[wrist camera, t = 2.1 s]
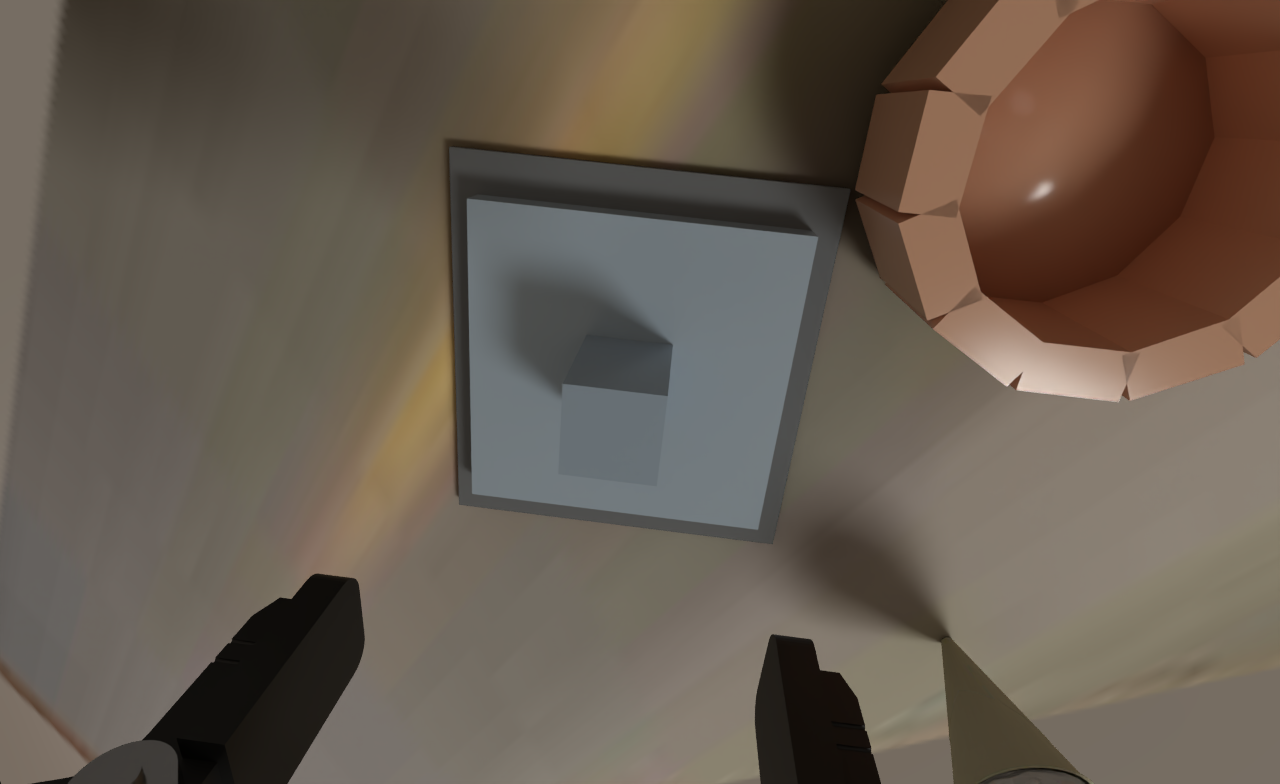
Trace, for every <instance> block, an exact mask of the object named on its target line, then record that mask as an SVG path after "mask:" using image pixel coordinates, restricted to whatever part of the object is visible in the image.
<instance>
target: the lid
mask: <svg viewBox="0 0 1280 784" xmlns="http://www.w3.org/2000/svg"><path fill="white" fill-rule="evenodd" d="M467 241H468V297H469V352H470V408H471V464H472V494H477V495H485V496H493V497H501V498H509V499H517V500H525V501H533V502H541V503H549V504H557V505H565V506H573V507H581V508H589V509H597V510H604V511H612V512H620V513H628V514H636V515H644V516H652V517H660V518H668V519H676V520H684V521H692V522H700V523H708V524H716V525H724V526H732V527H740V528H748V529H756V530H758V527H759V522H760V517H761V513H762V508H763V503H764V498H765V493H766V488H767V484H768V479H769V474H770V469H771V464H772V459H773V454H774V450H775V445H776V440H777V435H778V430H779V425H780V420H781V416H782V411H783V406H784V401H785V396H786V391H787V387H788V382H789V377H790V372H791V367H792V362H793V357H794V353H795V348H796V343H797V338H798V333H799V328H800V324H801V319H802V314H803V309H804V304H805V299H806V294H807V290H808V285H809V280H810V275H811V270H812V265H813V260H814V256H815V251H816V246H817V241H818V236H817V235H816V234H815V233H814V232H813V231H811V230H802V229H793V228H783V227H774V226H765V225H756V224H747V223H737V222H728V221H719V220H710V219H701V218H691V217H682V216H673V215H664V214H654V213H645V212H636V211H627V210H618V209H608V208H599V207H590V206H581V205H572V204H562V203H553V202H544V201H535V200H526V199H516V198H507V197H498V196H489V195H479V194H477V195H475V196H472V197H469V198H467Z"/></svg>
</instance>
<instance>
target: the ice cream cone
mask: <svg viewBox="0 0 1280 784" xmlns="http://www.w3.org/2000/svg"><path fill="white" fill-rule="evenodd" d="M941 645H942V656H943V668H944V680H945V691H946V703H947V714H948V726H949V739H950V745H951V756H952V767H953V779H954V784H1094V783H1093V782H1092V781H1091V780H1090V779H1088V778H1087V777H1085V776H1084V775H1082V774H1080V773H1079V772H1078V771H1077V770H1076V769H1075V768H1074V767H1073V766H1072V765H1071V764H1070V762H1069V761H1068V760H1067V759H1066V758H1065V757H1064V756H1063V755H1062V754H1061V753H1060V752H1059V751H1058V750H1057V749H1056V748H1055V747H1054V746H1053V745H1052V744H1051V743H1050V741H1049V740H1048V739H1047V738H1046V737H1045V736H1044V735H1043V734H1042V733H1041V732H1040V730H1039V729H1037V727H1035V726H1034V724H1033V723H1032V722H1031V721H1030V720H1029V719H1028V718H1027V717H1026V716H1025V715H1024V714H1023V713H1022V712H1021V711H1020V710H1019V709H1018V708H1017V707H1016V706H1015V705H1014V703H1013V702H1012V701H1011V700H1010V699H1009V698H1008V697H1007V696H1006V695H1005V694H1004V693H1003V692H1002V691H1001V690H1000V689H999V688H998V687H997V686H996V685H995V684H994V683H993V682H992V681H991V680H990V678H989V677H988V676H987V675H986V674H985V673H984V672H983V671H982V670H981V669H980V668H979V667H978V666H977V665H976V664H975V663H974V662H973V661H972V660H971V659H970V658H969V657H968V656H967V655H966V653H965V652H964V651H963V650H962V649H961V648H960V647H959V646H958V645H957V644H956V643H955V642H954V641H953V640H952V639H951V638H949V637H946V638H943V639H942V641H941Z"/></svg>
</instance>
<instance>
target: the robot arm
mask: <svg viewBox="0 0 1280 784" xmlns="http://www.w3.org/2000/svg"><path fill="white" fill-rule="evenodd" d="M364 641H365V636H364V627H363V617H362V608H361V599H360V590H359V584H358V582H357V580H356V579H354V578H347V577H339V576H332V575H324V574H314V575H312V576H311V577H310V578H309V579H308V580H307V581H306V582H305V583H304V585H303V586H302V587H301V588H300V589H299V591H298V592H297V593H296V594H295V595H294V597H293V598H292V599H287V598H279V599H277V600H276V601H274V602H273V603H271V604H270V605H268V606H267V607H265V608H263V609H262V610H260V611H259V612H257V613H256V614H254V615H253V616H252V617H251V618H250V619H249V620H248V621H247V622H246V623H245V625H244V626H243V627H242V628H241V629H240V630H239V631H238V633H237V634H236V635H235V636H234V637H233V638H232V642H231V643H228V644H227V645H226V646H225V647H224V648H223V650H222V651H221V652H220V653H219V654H218V655H217V656H216V659H215V661H214V663H212V662H211V663H210V664H209V665H208V667H207V668H206V669H205V670H204V671H203V672H202V673H201V675H200V676H199V677H198V678H197V679H196V680H195V681H194V683H193V684H192V685H191V686H190V687H189V688H188V689H187V691H186V692H185V693H184V694H183V695H182V696H181V697H180V698H179V700H178V701H177V702H176V703H175V704H174V705H173V706H172V708H171V709H170V710H169V711H168V712H167V713H166V714H165V716H164V717H163V718H162V719H161V720H160V721H159V722H158V723H157V725H156V726H155V727H154V728H153V729H152V730H151V731H150V733H149V734H148V735H147V736H146V737H145V738H144V739H143V740H142V741H136V742H131V743H128V744H124V745H121V746H119V747H116V748H114V749H112V750H110V751H108V752H106V753H104V754H102V755H100V756H99V757H97V758H96V759H94V760H93V761H91V762H90V763H89V764H87V765H86V766H85V767H83V768H82V769H81V770H80V771H79V772H78V773H77V774H76V775H75V776H73V777H69V778H63V779H57V780H52V781H45V782H39V783H33V784H288V782H289V780H290V779H291V777H292V775H293V774H294V772H295V770H296V769H297V767H298V765H299V764H300V762H301V761H302V759H303V757H304V756H305V754H306V752H307V751H308V749H309V747H310V746H311V744H312V742H313V741H314V739H315V737H316V736H317V734H318V733H319V731H320V729H321V728H322V726H323V724H324V723H325V721H326V719H327V718H328V716H329V714H330V713H331V711H332V709H333V708H334V706H335V705H336V703H337V701H338V700H339V698H340V696H341V695H342V693H343V691H344V690H345V688H346V686H347V685H348V683H349V681H350V680H351V678H352V677H353V675H354V673H355V671H356V670H357V668H358V665H359V663H360V660H361V657H362V653H363V649H364ZM755 729H756V739H757V749H758V760H759V770H760V780H761V784H881V782H880V778H879V774H878V771H877V767H876V764H875V760H874V756H873V754H871V746H870V742H869V738H868V735H867V731H865V724H864V720H863V717H862V713H861V709H860V706H859V702H858V699H857V697H856V695H855V694H854V693H853V691H852V690H851V688H850V687H849V686H848V684H847V683H846V681H845V680H844V679H843V677H842V676H841V674H840V673H836V672H828V671H821V670H820V669H819V664H818V660H817V655H816V651H815V647H814V644H813V641H812V640H811V639H804V638H796V637H789V636H781V635H773V634H772V635H771V637H770V639H769V642H768V647H767V651H766V655H765V659H764V664H763V668H762V672H761V677H760V681H759V685H758V689H757V695H756V704H755ZM0 784H1V782H0Z"/></svg>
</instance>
